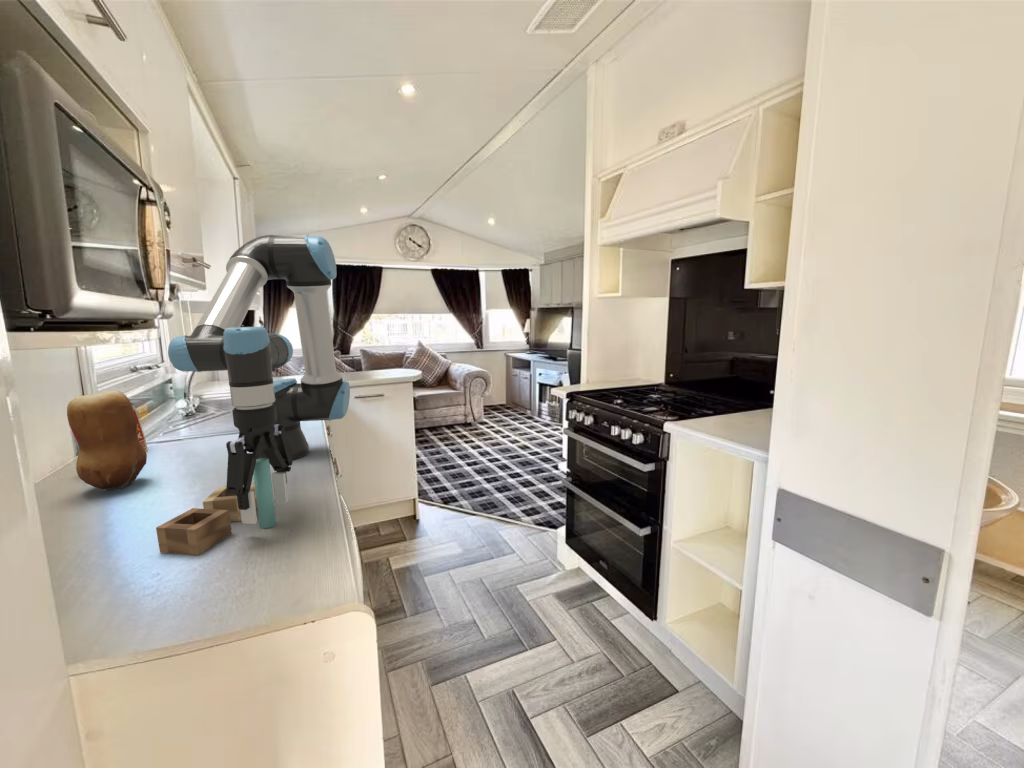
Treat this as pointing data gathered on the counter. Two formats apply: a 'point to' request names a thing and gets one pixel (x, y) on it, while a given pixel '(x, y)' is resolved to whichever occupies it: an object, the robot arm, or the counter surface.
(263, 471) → the teal cylindrical rod
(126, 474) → the butternut squash
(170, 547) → the brown wooden square frame
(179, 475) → the counter surface
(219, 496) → the light wooden square frame
